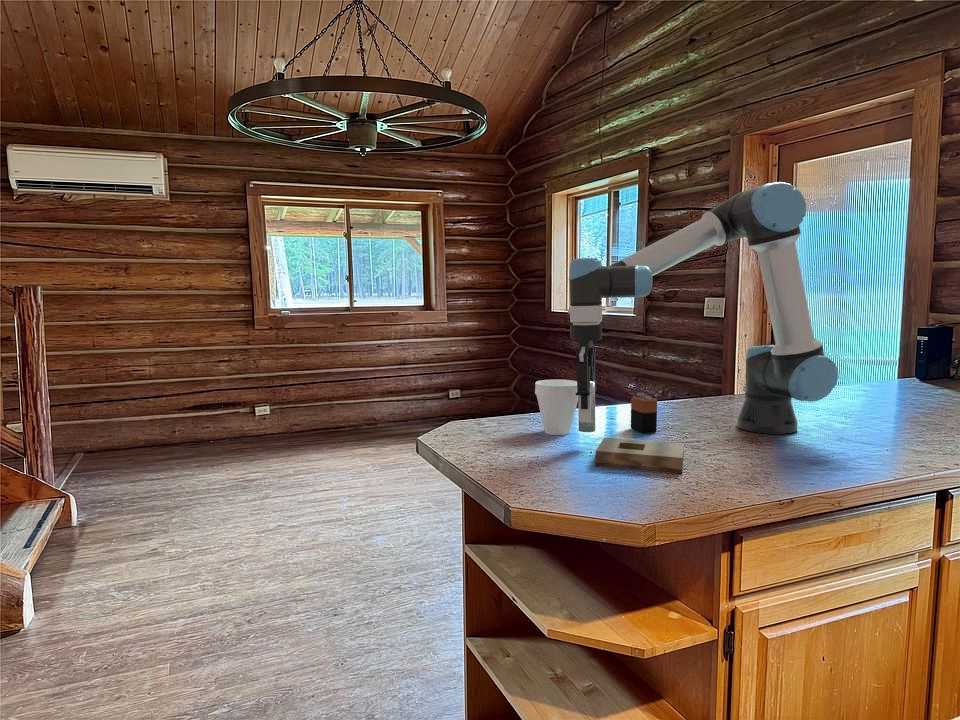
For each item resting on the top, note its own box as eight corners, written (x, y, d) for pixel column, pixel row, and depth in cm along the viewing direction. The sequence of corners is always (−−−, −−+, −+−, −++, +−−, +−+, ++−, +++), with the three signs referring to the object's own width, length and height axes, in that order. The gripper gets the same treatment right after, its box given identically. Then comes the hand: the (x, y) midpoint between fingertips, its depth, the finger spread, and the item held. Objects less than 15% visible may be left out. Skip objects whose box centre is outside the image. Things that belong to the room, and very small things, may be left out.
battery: (643, 427, 171) (644, 392, 170) (657, 432, 164) (658, 396, 163) (629, 428, 170) (630, 393, 168) (643, 434, 163) (643, 397, 162)
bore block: (683, 458, 139) (683, 443, 139) (682, 474, 127) (682, 457, 126) (603, 451, 145) (604, 437, 145) (595, 466, 133) (595, 450, 132)
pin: (596, 429, 149) (596, 380, 148) (593, 432, 146) (593, 383, 144) (580, 428, 151) (579, 380, 149) (577, 431, 147) (576, 382, 146)
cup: (553, 425, 174) (554, 378, 173) (589, 432, 166) (589, 382, 164) (525, 432, 166) (525, 382, 164) (561, 439, 157) (561, 387, 156)
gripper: (576, 321, 154) (578, 412, 157) (562, 326, 138) (564, 426, 141) (606, 321, 152) (607, 413, 154) (596, 325, 136) (596, 428, 139)
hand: (586, 419), depth 148 cm, fingers closed on pin, 4 cm apart
